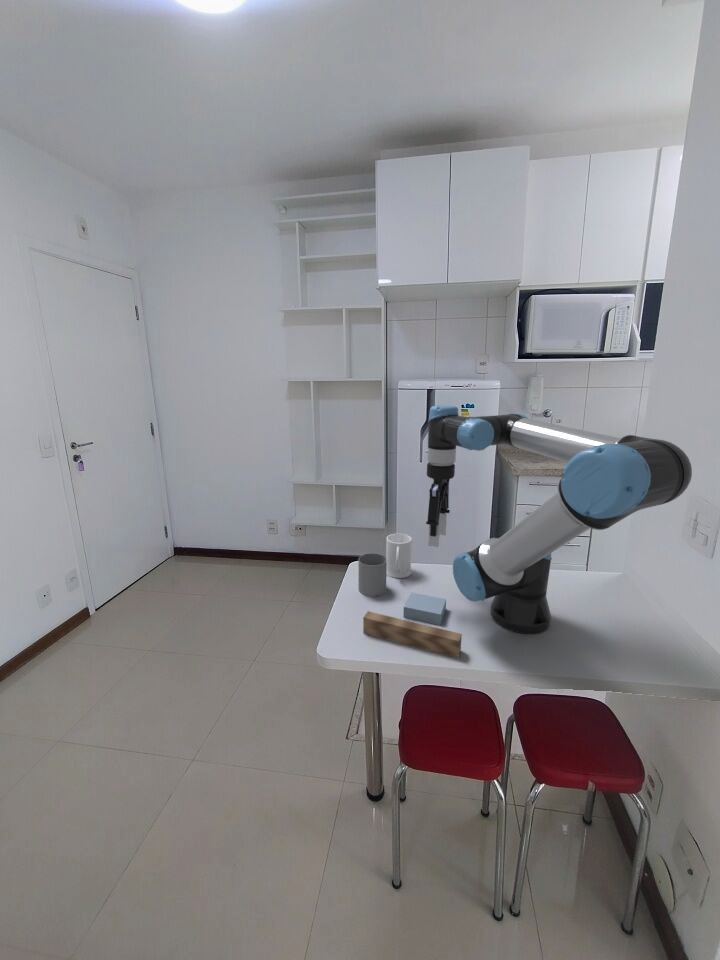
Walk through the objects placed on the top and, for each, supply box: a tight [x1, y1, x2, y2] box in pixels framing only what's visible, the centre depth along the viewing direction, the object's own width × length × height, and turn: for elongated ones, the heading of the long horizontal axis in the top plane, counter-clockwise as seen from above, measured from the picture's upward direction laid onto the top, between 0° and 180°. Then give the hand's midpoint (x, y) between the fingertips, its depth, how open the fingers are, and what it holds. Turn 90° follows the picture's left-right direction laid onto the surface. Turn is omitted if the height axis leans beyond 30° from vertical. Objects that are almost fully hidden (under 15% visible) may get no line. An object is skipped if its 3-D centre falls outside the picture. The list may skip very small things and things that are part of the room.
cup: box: [357, 552, 387, 597], centre depth 128 cm, size 8×8×10 cm
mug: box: [385, 533, 413, 579], centre depth 136 cm, size 12×8×12 cm
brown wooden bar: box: [362, 610, 463, 659], centre depth 104 cm, size 24×3×4 cm, turn 67°
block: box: [403, 592, 447, 626], centre depth 116 cm, size 10×8×4 cm
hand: (437, 539), depth 122 cm, fingers open, 8 cm apart
